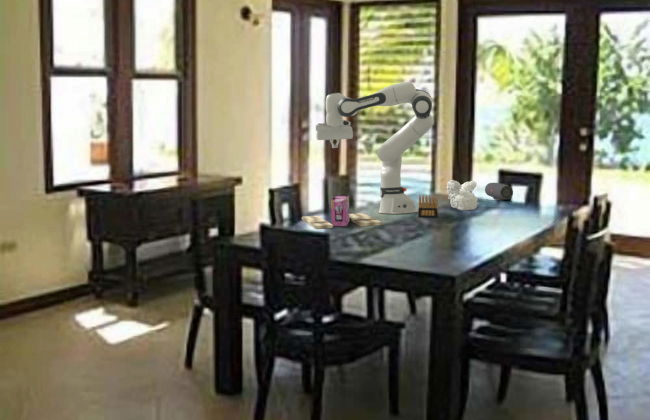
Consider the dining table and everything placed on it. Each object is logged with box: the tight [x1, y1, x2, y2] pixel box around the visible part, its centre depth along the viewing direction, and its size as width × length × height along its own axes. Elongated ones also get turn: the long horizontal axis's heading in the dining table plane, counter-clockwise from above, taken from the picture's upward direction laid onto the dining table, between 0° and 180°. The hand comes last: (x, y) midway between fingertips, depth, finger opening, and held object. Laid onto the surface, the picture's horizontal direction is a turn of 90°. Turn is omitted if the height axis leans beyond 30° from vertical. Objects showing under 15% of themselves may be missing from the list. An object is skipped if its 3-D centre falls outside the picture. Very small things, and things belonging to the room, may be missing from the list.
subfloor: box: [301, 212, 383, 230], centre depth 468 cm, size 34×40×2 cm
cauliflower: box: [446, 179, 480, 211], centre depth 508 cm, size 19×20×20 cm
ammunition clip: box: [417, 194, 439, 219], centre depth 475 cm, size 11×2×12 cm, turn 67°
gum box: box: [330, 194, 351, 227], centre depth 463 cm, size 24×8×14 cm, turn 175°
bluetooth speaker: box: [484, 182, 514, 201], centre depth 547 cm, size 23×9×10 cm, turn 14°
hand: (335, 147), depth 496 cm, fingers closed
